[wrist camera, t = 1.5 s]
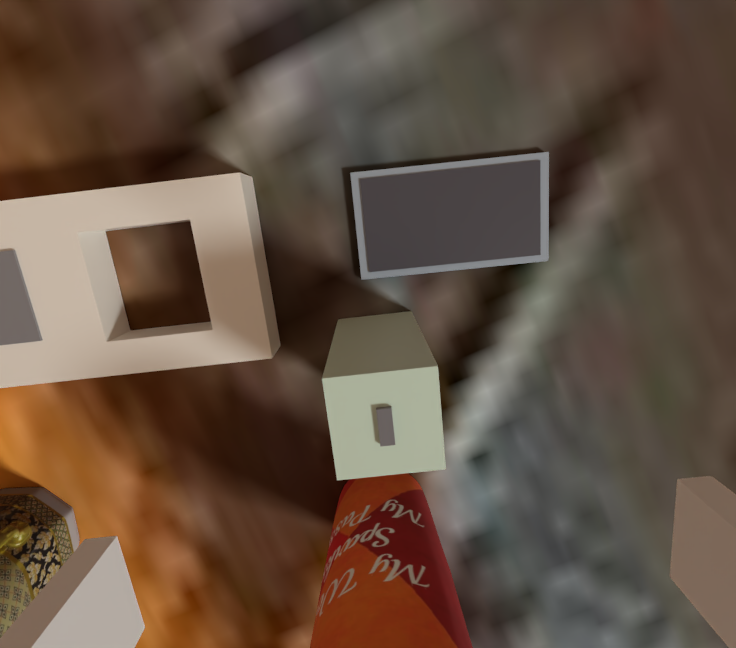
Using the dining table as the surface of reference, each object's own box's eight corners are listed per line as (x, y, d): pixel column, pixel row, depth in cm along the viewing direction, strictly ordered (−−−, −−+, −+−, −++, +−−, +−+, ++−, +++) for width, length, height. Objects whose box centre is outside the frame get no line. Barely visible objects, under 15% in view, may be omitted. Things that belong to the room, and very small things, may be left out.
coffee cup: (395, 426, 28) (428, 651, 14) (465, 514, 30) (561, 798, 15) (295, 494, 29) (226, 767, 15) (367, 574, 31) (369, 892, 16)
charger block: (417, 379, 27) (446, 472, 17) (347, 387, 27) (336, 483, 18) (411, 311, 26) (438, 367, 16) (337, 319, 26) (321, 380, 16)
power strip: (280, 345, 27) (269, 361, 24) (-64, 383, 27) (-118, 404, 24) (252, 176, 24) (236, 171, 21) (-125, 221, 25) (-193, 222, 22)
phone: (541, 259, 26) (549, 260, 25) (361, 277, 26) (361, 280, 25) (541, 154, 25) (549, 151, 24) (350, 174, 25) (350, 172, 24)
